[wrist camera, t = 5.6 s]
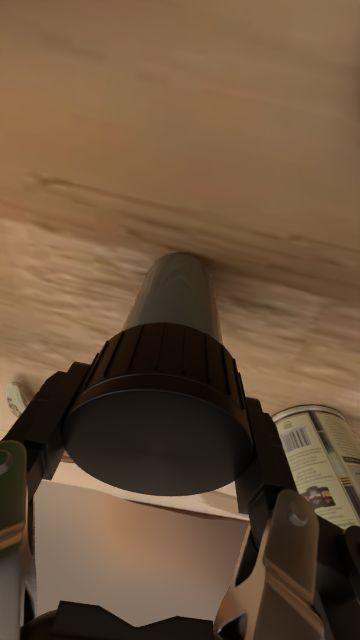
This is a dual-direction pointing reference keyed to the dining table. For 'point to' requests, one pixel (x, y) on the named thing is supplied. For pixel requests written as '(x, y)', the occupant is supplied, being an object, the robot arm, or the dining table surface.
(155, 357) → the jar lid
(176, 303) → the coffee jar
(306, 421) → the coffee can
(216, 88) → the dining table surface
